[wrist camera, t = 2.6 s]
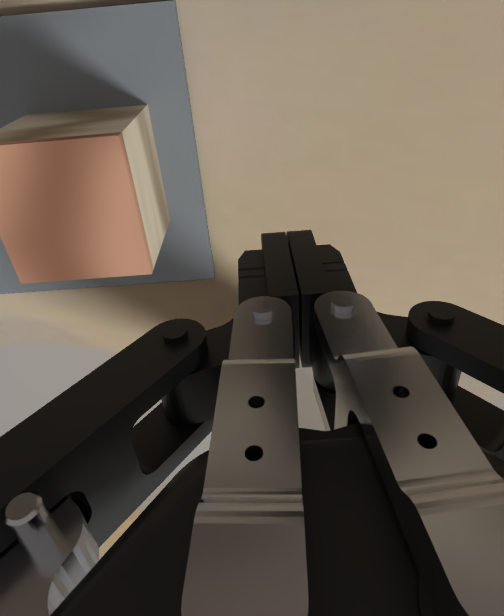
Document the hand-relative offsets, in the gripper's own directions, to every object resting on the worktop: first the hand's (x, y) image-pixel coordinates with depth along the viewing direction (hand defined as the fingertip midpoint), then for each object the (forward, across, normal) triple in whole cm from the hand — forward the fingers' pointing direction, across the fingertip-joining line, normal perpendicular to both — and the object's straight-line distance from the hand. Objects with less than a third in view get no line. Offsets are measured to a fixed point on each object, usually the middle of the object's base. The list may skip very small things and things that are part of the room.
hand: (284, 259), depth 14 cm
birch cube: (+12, +8, 0) cm, 14 cm away
